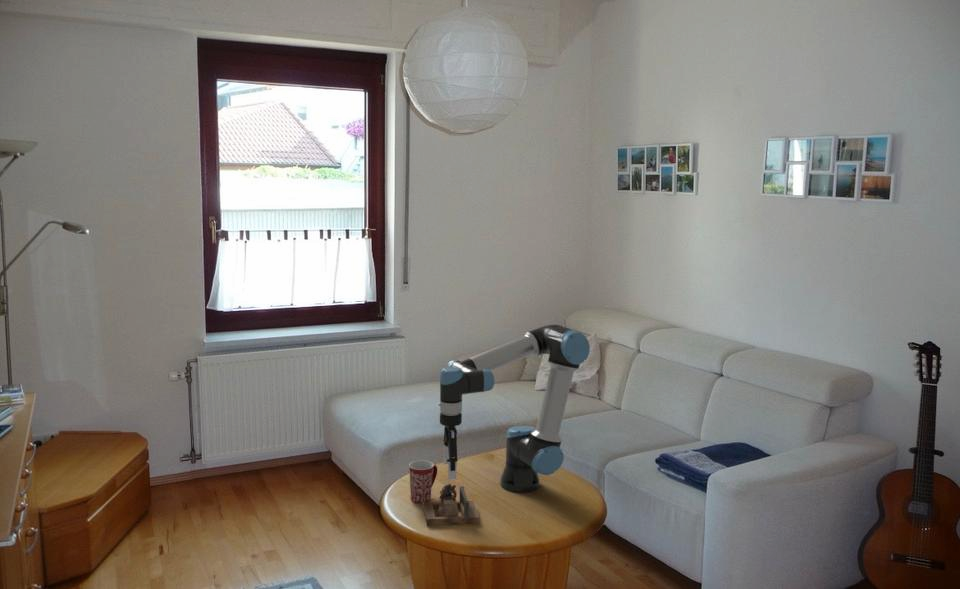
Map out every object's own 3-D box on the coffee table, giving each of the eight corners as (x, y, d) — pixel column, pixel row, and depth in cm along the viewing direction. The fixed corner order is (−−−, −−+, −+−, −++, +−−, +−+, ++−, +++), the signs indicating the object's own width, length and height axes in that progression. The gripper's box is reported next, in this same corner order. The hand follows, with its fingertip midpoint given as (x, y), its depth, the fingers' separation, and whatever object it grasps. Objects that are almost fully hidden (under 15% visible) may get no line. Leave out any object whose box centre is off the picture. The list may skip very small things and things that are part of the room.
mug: (420, 507, 286) (421, 471, 284) (403, 499, 292) (403, 464, 289) (444, 497, 295) (445, 462, 293) (427, 490, 301) (428, 455, 299)
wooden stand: (473, 507, 287) (473, 486, 286) (478, 524, 274) (479, 502, 272) (423, 508, 284) (423, 487, 283) (426, 526, 271) (427, 503, 270)
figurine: (444, 510, 284) (445, 478, 282) (461, 515, 280) (462, 482, 278) (433, 517, 278) (434, 484, 276) (450, 522, 274) (451, 489, 272)
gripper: (436, 401, 284) (435, 458, 288) (443, 424, 260) (442, 486, 264) (457, 401, 286) (456, 457, 289) (466, 423, 261) (465, 485, 265)
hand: (449, 471), depth 276 cm, fingers open, 13 cm apart
